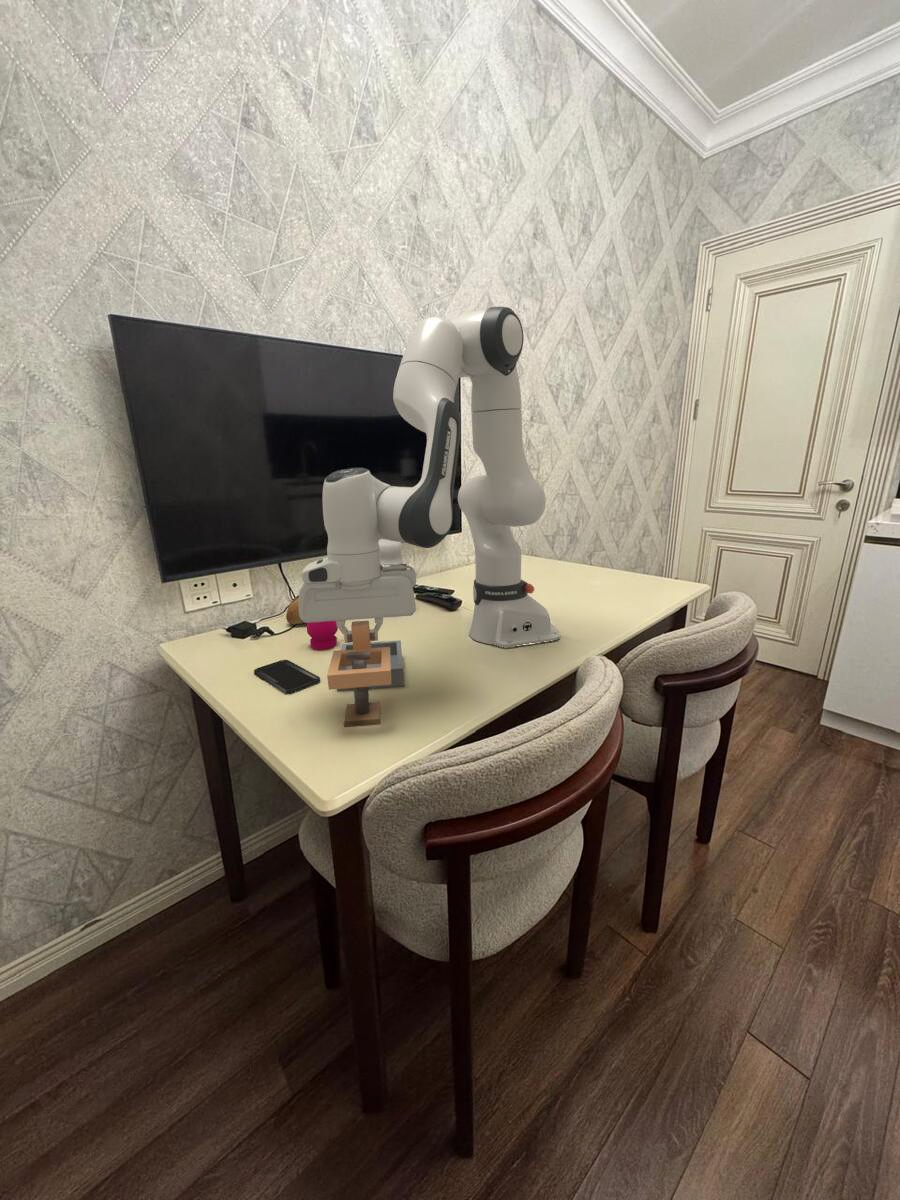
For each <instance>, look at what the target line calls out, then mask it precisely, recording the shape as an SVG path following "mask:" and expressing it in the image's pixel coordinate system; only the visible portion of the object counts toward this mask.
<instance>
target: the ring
mask: <svg viewBox="0 0 900 1200" xmlns="http://www.w3.org/2000/svg"><path fill="white" fill-rule="evenodd" d="M350 627H351V628H350V630H351V631H352V640H353V642H352V643H353V649H352V650H341V649H340V650H333V652H332V656H331V659H330V664H329V667H328V671H327V674H326V676H327V685H328V690H330V691H331V690H337V689H343V688H356V687H368V686H380V685H391V655H390V647H379V648H371V642H372V641H370V636H369V630H370V629H371V628H370V620H356V621H355V620H354V621H351V626H350ZM364 651H370V654H371V659H368V660H366V665H369V664H381V667H379V668H366V669H353V670H342V668H343V666H352V661H346V653H348V652H364Z"/></svg>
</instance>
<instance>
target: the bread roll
mask: <svg viewBox="0 0 900 1200" xmlns="http://www.w3.org/2000/svg"><path fill="white" fill-rule="evenodd" d="M285 618H286V621H287V623H289V624H291V625H298V624H306V623H305V622H303V621H302V620H301V619H300V617H299V594H298V595H297V596H296V597H294V598H293V599H292V601H291V602H290V604H289V605H288V607H287V611H286V617H285Z"/></svg>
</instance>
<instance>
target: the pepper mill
mask: <svg viewBox="0 0 900 1200" xmlns="http://www.w3.org/2000/svg"><path fill="white" fill-rule="evenodd" d="M306 624H307V625H306V633H307V635H308V636H309V637H310V640H309V644H310V648H311V649H313V650H314V651H315V650H316V651H326V649H327V650H330V649H333V648H335V647H337V645H338V638H337V636H336V634H337V632H338V630H339V629H338V627H337V624H336V621H325V622H310V623H306Z"/></svg>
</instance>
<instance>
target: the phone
mask: <svg viewBox="0 0 900 1200" xmlns="http://www.w3.org/2000/svg"><path fill="white" fill-rule="evenodd" d="M253 673H254V676H256V677H257V678H259V679H261V680H263V681H264V682H265V683H266V684H268V683H269V684H268V685H270V686H271V685H272V687H273V688H275V689H276V690H278V691H279V692H281V693H282V692H283V693H282V694H283V695H287V694H289V695H293V694H295V692H296V693H298V692H301V691H303V690H305V689H309V688H311V687H314V686H316V685H318V683H319V684H320V683H321V677H320V676H318V675H316V674H314V673H313V672H311V671H309V670H307V669H305V668H303V667H302V666H300V665H298V664H296V663H295V662H292V661H290V660H289V659H280V660H279V661H274V662H272V663H269V664H265V665H263V666H260V667H257V668H255V669H254V670H253Z"/></svg>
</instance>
